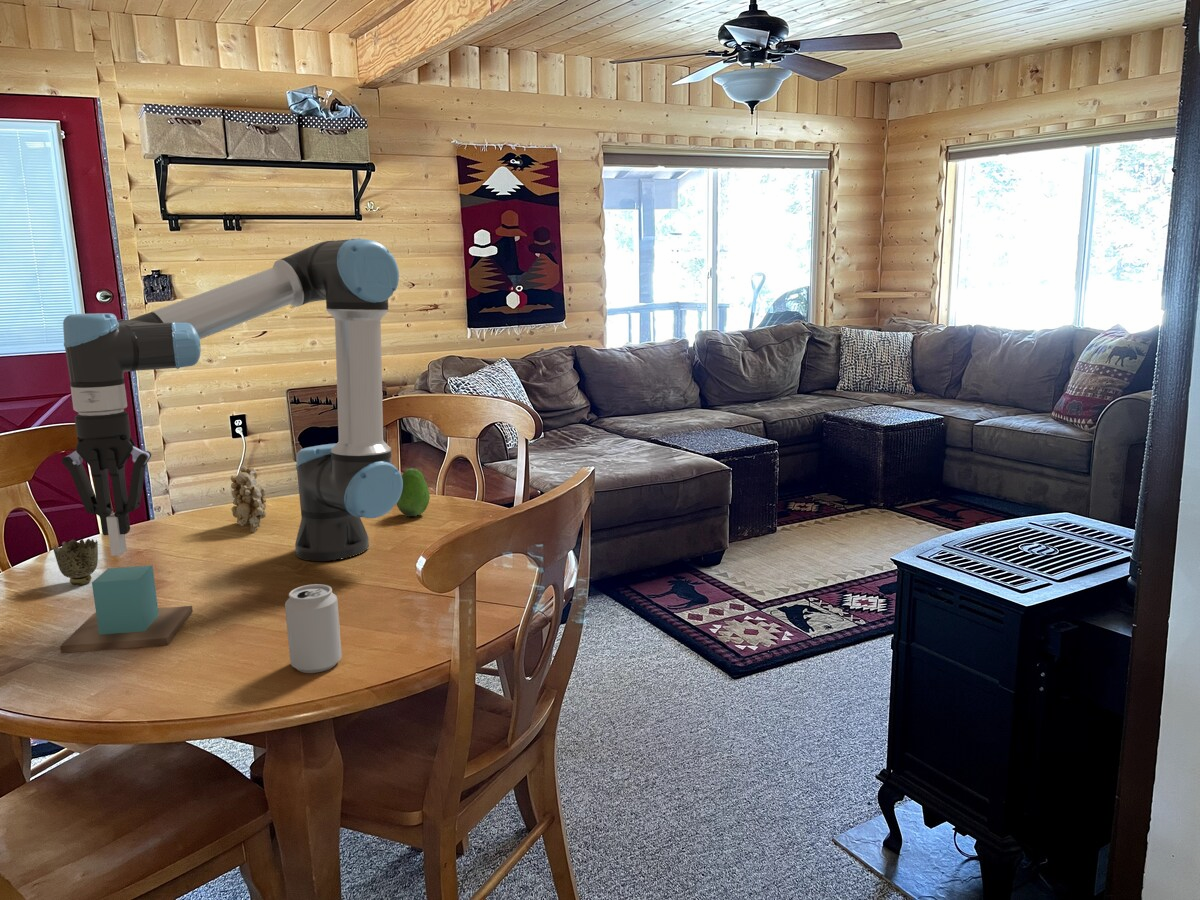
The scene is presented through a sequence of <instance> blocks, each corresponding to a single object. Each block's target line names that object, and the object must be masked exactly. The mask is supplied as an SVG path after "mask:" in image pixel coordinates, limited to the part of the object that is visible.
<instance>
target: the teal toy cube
mask: <svg viewBox="0 0 1200 900" xmlns="http://www.w3.org/2000/svg"><path fill="white" fill-rule="evenodd" d="M91 586H92V593H93V599H94V601H93V602H94V608H95V613H96V616H97V623H98V630H99V635H102V634H116V633H129V632H143V631H146V629H147V628H148V627H149V626H150V625H151V624H152V622H153V621H154V620H155V619H156V618H157V617H158V615H159V613H158V608H159V605H158V598H157V597H158V596H157V591H156V583H155V575H154V566H153V565H140V566H135V565H134V566H122V567H121V566H120V567H119V566H118V567H109V568H107V569H105V571H103V572H102V573H101V574H100V575H98V577H96V578H95V579H94V580H93V581H92V582H91Z"/></svg>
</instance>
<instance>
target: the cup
mask: <svg viewBox="0 0 1200 900" xmlns="http://www.w3.org/2000/svg"><path fill="white" fill-rule="evenodd" d="M98 543H99V541H97V539H96V540H94V539H93V538H92V539H90V538H87V539H86V540H84V539H83V538H81V539H80V540H79V541H77V540H76V539H71V540H69V541H68V542H66V541H63V542H62V543H61V546H59V547H58V545H54V547H52V550H53V553H54V557H55V561H56V564H57V566H58V569H59V571H60V573H61V574H62V575H63V576H64V577H65V578H69V583H70V584H71V585H72V586H76V585H78V586H83V585H87V584H89V583H90V582H91V581H92V579H93V578H92V574H93V573H94V572H95V571H96V569H97V567H98V562H99V560H98V559H99V548H98V547H99V545H98Z"/></svg>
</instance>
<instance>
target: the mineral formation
mask: <svg viewBox="0 0 1200 900" xmlns="http://www.w3.org/2000/svg"><path fill="white" fill-rule="evenodd" d="M239 471H240V472H239V473H237V475H236V474H233V475H231V477H230V481H231V484H230V488H231V489H232V491H231V496H232V498H233V501H232V504H233V506H232V507H231V508H230V509H231V512H232V516H233V517H234V518H236V523H237V525H239V526H240V527H243V526H244V525H246V524H249V526H250V527H249V530H250V532H251V533H254V532H256V531H257V529H258V528H260V527H261V519H264V518H266V515H267V512H266V508H267V503H266V502H267V499H266V498H265V496H266V494H267V490H266V488H265V486H261V487H260V486H259V483H258V482H257V477H258V472H257V471H256V469H254V467H247V466H245V465H242V466H240V468H239Z"/></svg>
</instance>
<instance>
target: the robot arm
mask: <svg viewBox="0 0 1200 900" xmlns="http://www.w3.org/2000/svg"><path fill="white" fill-rule="evenodd" d="M399 273H400V272H399V266H398V263H397V261H396V258H395V257H394V256H393V254H392V252H390V251H389V249H388V248H387V247H386V246H384V245H383V243H380V242H378V241H376V240H373V239H366V238H361V237H359V238H350V239H339V240H338V239H337V240H326V241H322V242H317V243H315V244H314V245H310V246H309V247H307V248H304V249H302V250H299V251H297V252H295V253H293V254H290V255H288V256H285V257H283V258H279V259H276V260H275V261H274V263H273V265H272V267H271V268H268V269H266V270H263V271H259V272H257V273H255V274H252V275H249V276H246V277H243V278H241V279H237V280H235V281H232V282H230V283H227V284H224V285H222V286H219V287H216V288H214V289H213V288H212V289H210V290H208V291H204V292H202V293H200V294H196V295H194V296H191V297H188V298H186V299H182V300H179V301H177V302H174V303H172V304H169V305H166V306H163V307H160V308H158V309H155V310H152V311H150V312H148V313H144V314H141V315H138V316H136V317H133V318H130V319H119V320H118V319H117V316H116V315H115V314H114V313H108V312H107V313H103V312H102V313H99V312H98V313H75V314H74V313H73V314H69V315H66V316H65V318H64V319H63V321H62V322H63V323H62V329H63V347H64V349H65V350H64V351H65V356H66V362H67V363H66V364H67V367H68V368H67V369H68V375H69V382H70V383H69V384H70V392H71V400H72V409H73V411H75V412H77V414H76V415H75V416H74V425H75V431H76V437H77V443H76V446H75V451H72V453H69V454H68V455H66V456H64V457H62V458H61V463H62V464H63V466H64V467H65V468H66V469H67V470H68V471H69V473H70V476H71V477H72V480H73V482H74V485H75V488H76V490H77V493H78V495H79V497H80V500H81V503H82V504H83V507H84V510H85V511H86V513H87V514H89V515H90V514H94V515H97V516H98V517H99V520H100V525H101V526H100V527H101V533H102V535H103V536H108V540H109V542H108V543H109V550H110V556H111V557H112V556H113V557H114V556H119V557H120V556H122V555H123V554H124V553H126V552H127V550H128V548H127V541H126V535H127V534H128V533H130V531H131V523H130V517H129V513H132V512H134V511H136V510H137V509H138V508H140V505H141V500H142V494H143V488H144V480H145V473H146V468H147V464H148V462H149V461H150V459H151V457H152V453H151V451H149V450H146V451H143V450H142V449H140V448H138V447H136V443H135V442H134V440H133V438H132V436H131V434H132V433H131V424H130V418H129V417H130V416H129V412H127V410H125V409H126V408H127V407H128V401H127V391H126V386H125V383H126V382H125V376H124V375H125V372H128V373H129V372H137V371H152V370H154V371H155V370H166V369H176V370H178V369H179V370H180V369H181V368H187V367H193V366H195V365H197V363H198V362H199V361H200V358H201V351H202V350H201V349H202V348H201V340H202V339H204V338H208V337H210V336H212V335H215V334H218V333H220V332H223V331H225V330H227V329H230V328H233V327H235V326H238V325H240V324H242V323H245V322H248V321H251V320H253V319H256V318H259V317H262V316H264V315H266V314H268V313H270V312H274V311H276V310H279V309H282V308H284V307H286V306H289V305H291V306H292V307H295V308H298V307H301V306H304V305H306V304H310V303H313V302H321V301H325V305H326V306H325V308H326V309H325V310H326V312H327V313H328V314H330V315H331V316H332V317H333V319H334V330H335V331H334V334H335V359H336V360H335V363H336V392H337V394H336V396H337V428H338V429H337V430H338V442H337V443H335V442H334V443H328V444H320V445H314V446H308V447H304V448H301V449H300V450H299V451H297V453H296V462H295V463H296V465H295V469H296V474H297V483H298V485H297V487H298V495H299V505H300V515H301V520H300V524H299V528H298V531H297V536H296V539H295V544H294V548H295V550H294V551H295V555H296V556H297V558H299V559H301V560H305V561H309V560H313V561H312V562H327V561H326V560H333V561H337V560H336V559H340V560H342V559H341V558H346V557H350V556H353V555H356V554H359V553H361V552H363V551H365V550H366V549H367V548H368V547H369V548H370V542H369V541H370V540H369V535H368V533H367V530H366V528H365V526H364V524H363V520H362V518H364V519H377V518H381V517H382V516H383V517H384V516H385V515H387V514H388V513H390V512H391V511H392V509H393V508H394V507H395V505H396V506H397V502H398V500H399V499H400V496H401V493H402V489H403V480H402V474H401V472H400V470H398V468H397V467H396V465H394V464H392V447H391V446H389V445H388V444H387V442H386V441H384V416H383V413H384V412H383V410H384V409H383V373H382V372H383V367H382V330H381V329H382V323H381V321H382V319H383V317H385V315H387V314H388V312H389V298H391V297H392V296H393V294H394V292H395V291H396V290H397V288H398V285H399V282H400V274H399ZM131 455H132V459H131V461H132V462H133V465H132V472H131V476H130V477H131V478H130V486H129V491H127V490H128V489H127V483H126V482H127V481H126V474H125V471H126V465H125V464H126V463H127V461H128V460H129V458H130V457H131ZM83 461H85V463H86V464H88V466H89V467H90V469H91V470H90V471H91V475H92V477H93V482H94V488H93V486H92V484H91V480H90V478H89V476H88V473H87V470H86V468H85V467H84V464H83ZM108 472H109V473H108ZM108 474H109V475H108ZM109 476H110V478H111V479H110V480H111V486H112V495H113V503H114V507H113V508H112V500H111V499H112V497H111V491H110V490H111V489H110V483H109ZM94 489H95V491H94ZM114 510H115V511H114ZM113 511H114V512H113ZM369 548H368V549H369ZM365 552H366V551H365ZM359 555H360V554H359ZM350 558H351V557H350ZM346 559H347V558H346Z"/></svg>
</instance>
